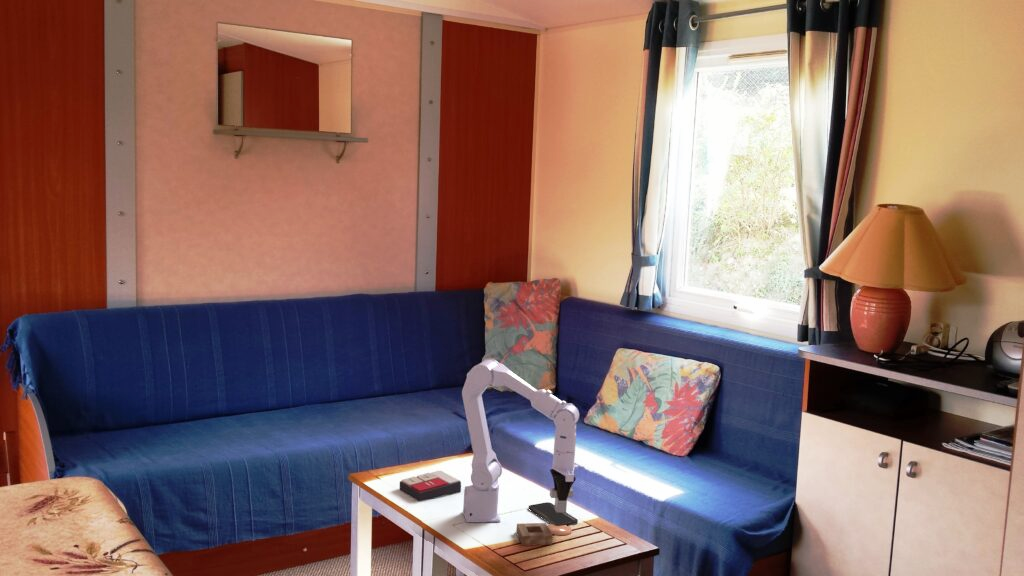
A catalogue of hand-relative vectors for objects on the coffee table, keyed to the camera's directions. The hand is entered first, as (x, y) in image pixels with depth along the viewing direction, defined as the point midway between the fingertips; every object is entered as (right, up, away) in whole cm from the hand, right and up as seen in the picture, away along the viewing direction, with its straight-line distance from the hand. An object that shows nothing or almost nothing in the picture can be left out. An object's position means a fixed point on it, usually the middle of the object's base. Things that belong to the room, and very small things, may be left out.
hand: (561, 498), depth 242 cm
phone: (-2, -8, +11) cm, 14 cm away
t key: (0, -4, 0) cm, 4 cm away
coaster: (-1, -9, +1) cm, 9 cm away
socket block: (-8, -10, -5) cm, 13 cm away
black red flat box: (-38, -4, +24) cm, 45 cm away
